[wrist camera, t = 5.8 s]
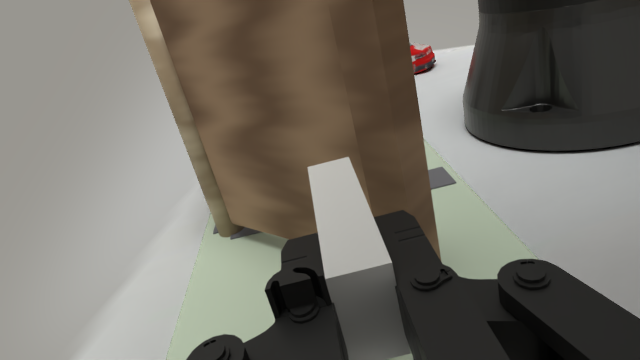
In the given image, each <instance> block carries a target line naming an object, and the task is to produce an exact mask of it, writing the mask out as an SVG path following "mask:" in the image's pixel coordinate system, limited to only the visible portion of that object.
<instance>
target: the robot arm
mask: <svg viewBox="0 0 640 360" xmlns="http://www.w3.org/2000/svg"><path fill="white" fill-rule="evenodd" d="M478 4H479V30H478V35H477V39H476V43H475V47H474V52H473V56H472V60H471V65H470V69H469V73H468V78H467V82H466V86H465V90H464V94H463V107H464V117H465V125H466V128H467V129H468V130H469V132H471V133H472V134H473V135H475V136H476V137H478V138H480V139H483V140H485V141H488V142H491V143H494V144H498V145H502V146H507V147H513V148H521V149H531V150H551V151H563V150H585V149H596V148H605V147H612V146H618V145H624V144H629V143H634V142H638V141H640V0H478ZM307 168H308V174H309V180H310V186H311V193H312V199H313V205H314V212H315V218H316V224H317V231H318V232H317V233H314V234H310V235H306V236H302V237H298V238H294V239H290V240H287V242H286V244H285V245H284V247H283V249H282V250H281V270H280V271H279V272H277V273H276V274H274V275H273V276H272V277H271V278H270V279H269V281H268V282H267V284H266V287H265V293H266V295H267V298H268V301H269V304H270V307H271V309H272V312H273V315H274V318H275V322H274V324H273V325H272V326H271V327H269V328H268V329H267V330H266V331H264V332H263V333H261V334H260V335H258V336H256V337H254V338H252V339H250V340H248V341H246V342H244V343H243V341H242V339H240V338H239V337H237V336H235V335H229V334H223V335H218V336H214V337H212V338H210V339H208V340H206V341H204V342H202V343H201V344H200V345H198V346H197V347H196V348H195V349H194V350H193V351H192V352H191V354H190V355H189V356H188V358H187V359H186V360H386V359H390V358H395V357H399V356H403V355H407V354H411V353H410V350H411V352H412V355H413V360H640V319H639V318H638V317H636V316H635V315H633V314H631V313H630V312H628V311H627V310H625V309H624V308H622V307H620V306H619V305H617V304H616V303H614V302H613V301H611V300H610V299H608V298H606V297H605V296H603V295H602V294H600V293H599V292H597V291H595V290H594V289H592V288H591V287H589V286H588V285H586V284H584V283H583V282H581V281H580V280H578V279H577V278H575V277H573V276H572V275H570V274H569V273H567V272H566V271H564V270H562V269H561V268H559V267H558V266H556V265H554V264H551V263H549V262H547V261H543V260H538V259H519V260H515V261H512V262H509V263H507V264H506V265H504V266H503V267H501V268H500V270H499V272H498V274H497V279H468V278H464V277H460V276H458V275H457V273H456V272H455V271H454V270H453V269H452V268H451V267H448V266H446V265H444V264H442V262H441V260H440V259H439V257H438V255H437V254H436V252H435V250H434V249H433V247H432V245H431V244H430V242H429V240H428V238H427V237H426V236H425V233H424V232H423V230H422V228H421V227H420V225H419V223H418V222H417V220H416V218H415V217H414V216H413V215H411V214H409V213H407V212H406V211H404V210H400V211H396V212H392V213H388V214H384V215H380V216H376V217H373V215H372V212H371V210H370V208H369V205H368V203H367V200H366V198H365V195H364V193H363V191H362V188H361V186H360V183H359V181H358V178H357V176H356V173H355V171H354V169H353V166H352V164H351V161H350V159H349V157H345V158H341V159H337V160H333V161H330V162H326V163H322V164H318V165H314V166H310V167H307ZM409 347H410V348H409Z"/></svg>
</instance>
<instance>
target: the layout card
mask: <svg viewBox="0 0 640 360" xmlns="http://www.w3.org/2000/svg"><path fill="white" fill-rule="evenodd" d="M424 146H425V153H426V160H427V167H428V173H429V180H430V187H431V194H432V201H433V208H434V214H435V221H436V228H437V235H438V242H439V249H440V255H441V262H442V264H444V265H446V266H448V267H451V268H452V269H453V270H454V271H455V272H456V273H457V275H458V276H460V277H464V278H468V279H497V274H498V272H499V270H500V268H501V267H503V266H504V265H506V264H507V263H509V262H512V261H515V260H519V259H538V258H537V257H536V256H535V255H534V254H533V253H532V252H531V251H530V250H529V249H528V248H527V247H526V246H525V245H524V244H523V243H522V242H521V241H520V239H519V238H518V237H517V236H516V235H515V234H514V233H513V232H512V231H511V230H510V229H509V228H508V227H507V226H506V225H505V224H504V223H503V222H502V221H501V219H500V218H499V217H498V216H497V215H496V214H495V213H494V212H493V211H492V210H491V209H490V208H489V207H488V206H487V205H486V204H485V203H484V202H483V201H482V200H481V198H480V197H479V196H478V195H477V194H476V193H475V192H474V191H473V190H472V189H471V188H470V187H469V186H468V185H467V184H466V183H465V182H464V181H463V180H462V178H461V177H460V176H459V175H458V174H457V173H456V172H455V171H454V170H453V169H452V168H451V167H450V166H449V165H448V164H447V163H446V162H445V161H444V160H443V158H442V157H441V156H440V155H439V154H438V153H437V152H436V151H435V150H434V149H433V148H432V147H431V146H430V145H429V144H428V143H427V142H426V141H425V140H424ZM287 240H289V239H286V238H282V237H279V236H275V235H272V234H268V233H265V232H261V231H258V230H254V229H250V228H247V227H244V229H242V230H241V231H240V232H238V233H236V234H234V235H231V237H221V236H220V235H219V232H218V230H217V227H216V225H215V222H214V219H213V217H212V214H211V213H210V216H209V219H208V223H207V226H206V229H205V232H204V236H203V239H202V242H201V245H200V249H199V252H198V255H197V259H196V262H195V265H194V268H193V272H192V275H191V278H190V281H189V285H188V288H187V291H186V295H185V298H184V301H183V304H182V308H181V311H180V314H179V317H178V321H177V324H176V327H175V330H174V334H173V337H172V340H171V344H170V347H169V350H168V353H167V357H166V360H186V359H187V358H188V356H189V355H190V354H191V352H192V351H193V350H194V349H195V348H196V347H197V346H198V345H200V344H201V343H202V342H204V341H206V340H208V339H210V338H212V337H214V336H218V335H223V334H229V335H235V336H237V337H239V338H240V339H242V341H243V343H244V342H246V341H248V340H250V339H252V338H254V337H256V336H258V335H260V334H261V333H263V332H264V331H266V330H267V329H268V328H269V327H271V326H272V325H273V324H274V322H275V318H274V315H273V312H272V309H271V307H270V304H269V301H268V298H267V295H266V293H265V287H266V284H267V282H268V281H269V279H270V278H271V277H272V276H273V275H274V274H276V273H277V272H279V271H280V270H281V250H282V249H283V247H284V245H285V244H286V242H287ZM538 260H539V259H538ZM409 348H410V347H409ZM410 353H411V354H407V355H403V356H399V357H395V358H390V359H386V360H413V355H412V352H411V350H410Z"/></svg>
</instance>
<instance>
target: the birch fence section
mask: <svg viewBox="0 0 640 360" xmlns="http://www.w3.org/2000/svg"><path fill="white" fill-rule="evenodd" d="M129 2H130V4H131V7H132V9H133V12H134V15H135V17H136V20H137V22H138V25H139V28H140V30H141V33H142V35H143V38H144V41H145V43H146V46H147V48H148V51H149V53H150V56H151V59H152V61H153V64H154V67H155V69H156V72H157V74H158V77H159V79H160V82H161V85H162V87H163V90H164V92H165V95H166V98H167V100H168V102H169V105H170V108H171V110H172V113H173V116H174V118H175V121H176V124H177V126H178V129H179V131H180V134H181V136H182V139H183V142H184V144H185V147H186V149H187V152H188V155H189V157H190V160H191V162H192V165H193V168H194V170H195V173H196V175H197V178H198V181H199V183H200V186H201V188H202V191H203V193H204V196H205V199H206V201H207V204H208V206H209V209H210V212H211V214H212V217H213V219H214V222H215V225H216V227H217V230H218V232H219V235H220V236H221V237H231V235H234V234H236V233H238V232H240V231H241V230H242V229H244V227H243V226H240V225H236V224H233V223H232V222H231V220H230V217H229V214H228V212H227V209H226V206H225V203H224V201H223V198H222V195H221V193H220V190H219V187H218V184H217V182H216V179H215V176H214V173H213V171H212V168H211V165H210V163H209V160H208V157H207V154H206V152H205V149H204V146H203V144H202V141H201V138H200V135H199V133H198V130H197V127H196V125H195V122H194V119H193V116H192V114H191V111H190V108H189V106H188V103H187V100H186V97H185V95H184V92H183V89H182V86H181V84H180V81H179V78H178V76H177V73H176V70H175V67H174V65H173V62H172V59H171V57H170V54H169V51H168V48H167V46H166V43H165V40H164V38H163V35H162V32H161V29H160V27H159V24H158V21H157V19H156V16H155V13H154V10H153V8H152V5H151V2H150V0H129Z"/></svg>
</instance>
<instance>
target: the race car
mask: <svg viewBox="0 0 640 360" xmlns="http://www.w3.org/2000/svg"><path fill="white" fill-rule="evenodd" d="M409 44H410V50H411V57H412V64H413V71H414V74H415V73H418V72H421V71H423V70H426V69H428V68H429V67H431V66H432V65H433V64H434V62H436V60H435V56H434V53H433V52H432V49H431V46H429V45H419V44H416V43H409Z"/></svg>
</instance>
